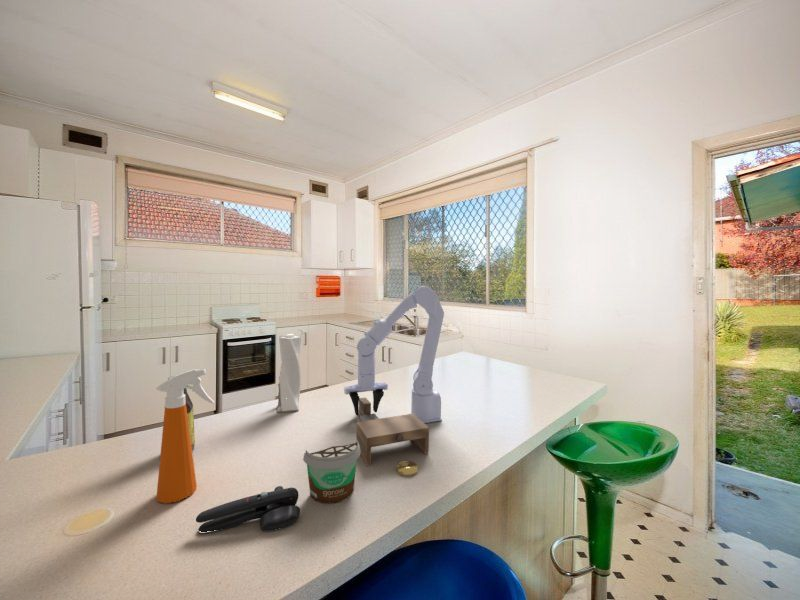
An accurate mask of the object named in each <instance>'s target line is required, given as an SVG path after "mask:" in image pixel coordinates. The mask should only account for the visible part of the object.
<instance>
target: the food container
mask: <svg viewBox="0 0 800 600" xmlns="http://www.w3.org/2000/svg"><path fill="white" fill-rule="evenodd" d="M360 453H361V451H360V446H359V443H358V440H357V439H355V443H350V444H346V445H336V446H331V447H328V448H325V449H321V450H319V451H314V452H309V451H308V450H307V449H305V452H304V454H303V459H302V460H303V462H304V463H305V464H306V467H307V468H306V469H307V479H308V487H309V495H310V497H311V499H312V500H314V501H315V502H318V503H321V504H329V505H331V504H338V503H340V502H343V501H345V500H347V499H348V498H349V497H350V496H351V495H352V494H353V492H354V490H355V478H356V471H357V462H358V459H359V458H360V456H361V455H360Z"/></svg>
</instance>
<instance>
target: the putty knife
mask: <svg viewBox="0 0 800 600" xmlns="http://www.w3.org/2000/svg"><path fill="white" fill-rule="evenodd" d="M358 407H359V420H360V422H361V421H367V420H374V419H380V418H379V417H378V416H377V415H376V412H374V413H372V402H371V401H370V400H369V399H368V398H367V397H365V396H364V397H359V405H358Z"/></svg>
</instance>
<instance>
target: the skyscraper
mask: <svg viewBox="0 0 800 600" xmlns="http://www.w3.org/2000/svg"><path fill="white" fill-rule="evenodd" d="M295 332H300V335H299V336H298V335H297V336H295V335H296V334H294V333H295ZM302 336H303V330H302V329H293V330H292V331H291V332H290V333H288V334H285V335H279V336H278V337H279V338H278V341H279V342H278V343H279V351H280V352H279V353H280V360H281V364H280V372H279V376H278V377H279V378H278V379H279V380H278V381H279V382H278V384H277V387H278V392H277V393H278V394H277V401H278V402H277V409H276V413H277V414H282V413H283V414H284V413H293V412H299V403H300V394H301V381H302V380H301V367H300V363H299V358H300V351H301V342H302ZM286 398H287V399H286Z"/></svg>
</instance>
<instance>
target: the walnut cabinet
mask: <svg viewBox="0 0 800 600" xmlns="http://www.w3.org/2000/svg"><path fill="white" fill-rule="evenodd" d="M355 423H356V427H355V428H356V431H355V433H356V437H355V438H356V439H357V440H358V443H359V446H360V451H361V453H360V456H361V459H362V460H363V462H364V463H365V465H366V467H368V466H371V465H372V448H375V447H380V446H386V445H391V444H396V443H403V442H408V441H412V442H413V443H414V444H415V445H416V446H417V447H418V448H419V449H420V450H421V451H422V452H423V453H424V455H426V454H429V452H430V451H429V448H430V445H429V443H430V427H429V426H428V425H427V423H423V422H422V421H421V420H420V419H419V418H418V417H416V416H415V415H414V414H411V413H407V414H402V415H396V416H395V415H393V416H387V417H382V418H379V419H374V420H367V421H361V420H360V421H357V422H355ZM356 439H355V440H356Z"/></svg>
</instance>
